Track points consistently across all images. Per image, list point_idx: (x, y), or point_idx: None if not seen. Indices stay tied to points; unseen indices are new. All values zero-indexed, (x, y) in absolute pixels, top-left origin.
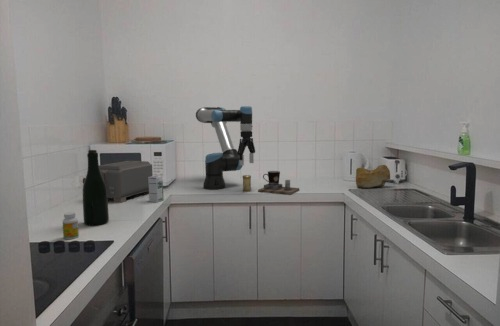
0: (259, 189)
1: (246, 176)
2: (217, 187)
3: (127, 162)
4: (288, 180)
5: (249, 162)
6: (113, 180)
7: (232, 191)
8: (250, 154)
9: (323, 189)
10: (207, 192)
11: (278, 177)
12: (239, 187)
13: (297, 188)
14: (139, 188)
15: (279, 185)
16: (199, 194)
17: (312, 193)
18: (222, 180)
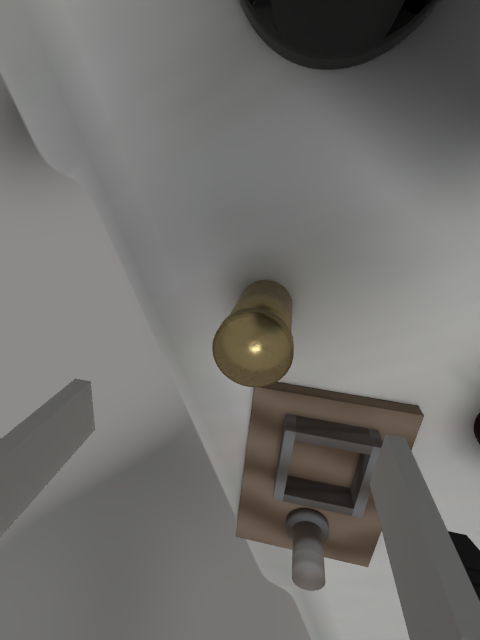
0: (263, 392)
1: (217, 360)
2: (255, 25)
3: None
4: (300, 583)
5: (388, 440)
6: None
7: (219, 213)
8: (433, 613)
9: None
10: (109, 23)
11: None
12: (398, 196)
13: (352, 560)
14: None
15: (314, 506)
16: (19, 4)
17: (301, 594)
18: (331, 14)
